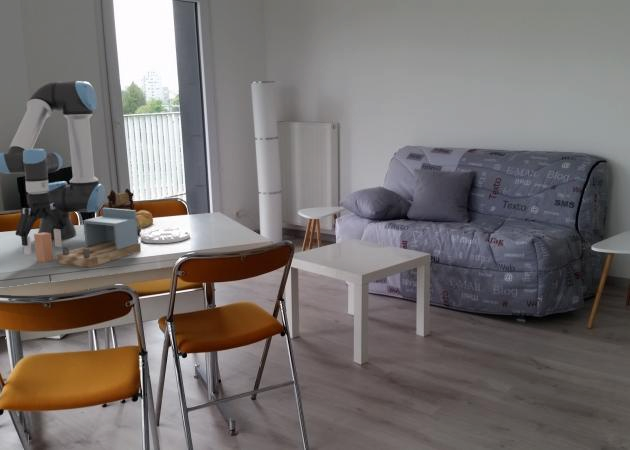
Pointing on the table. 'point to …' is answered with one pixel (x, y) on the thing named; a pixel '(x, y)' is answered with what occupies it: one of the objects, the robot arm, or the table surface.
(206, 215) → the table surface
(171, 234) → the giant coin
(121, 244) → the housing cover
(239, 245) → the table surface
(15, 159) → the robot arm
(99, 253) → the housing base
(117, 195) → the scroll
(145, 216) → the bread loaf
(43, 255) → the peg
